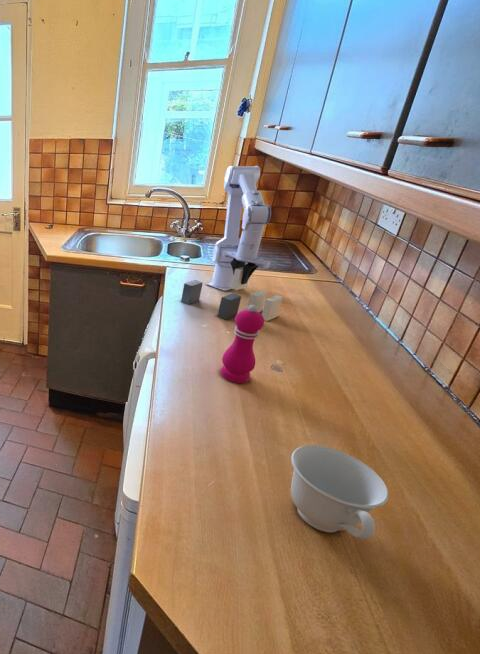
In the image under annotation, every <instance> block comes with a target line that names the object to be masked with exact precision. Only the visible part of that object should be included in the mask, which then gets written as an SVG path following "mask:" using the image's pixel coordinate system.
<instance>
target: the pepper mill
mask: <svg viewBox="0 0 480 654" xmlns="http://www.w3.org/2000/svg"><path fill="white" fill-rule="evenodd" d="M234 323H235V325H236V326H235V327H234V331H233V333H234V340H233V342H232V343H231V344H230V345H229V347H228V348H227V349H226V350H225V351H224V353H223V354H222V357H221V362H222V364H223V365H222V366H221V370H220V374H221V376H222V377H223V378H224V379H225V380H227V381H229V382H232V383H236V384H245V383H247V382H248V381H249V380H250V376H251V372H252V371H253V370H254V369H255V367H256V356H255V353H254V342H255V340H256V339H257V338H259V334H260V331H261V329H263V327H264V325H265V320H264V318H263V316H262V313H261V312H257V307H256V306H255V305H250V306H249V308H248V310H247V309H243V310H240V311H238V312H237V315H236V316H234Z"/></svg>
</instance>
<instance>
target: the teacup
mask: <svg viewBox="0 0 480 654" xmlns="http://www.w3.org/2000/svg"><path fill="white" fill-rule="evenodd" d="M290 460H291V461H290V462H291V465H292V467H293V474H292V478H291V485H290V496H291V499H292V502H293V504H294V506H295V507H296V508H297V513H298V515H299V516H300V518H301V519H302V520H303V521H304V522H306V523H307V524H308V525H309V526H311V527H313V528H314V529H316V530H318V531H321V532H325V533H335V532H337V531H347V532H348V533H349V534H350V535H351V536H352V537H354V538H356V539H359V540H369V539H371V538H372V537H373V536H374V534H375V531H376V524H375V520H374V519H373V517H372V515H371V514H370V512H371V511H372V510H373V509H375V508H379V507H382V506H383V505H385V504H386V503H387V502H388V500H389V496H390V495H389V494H390V493H389V489H388V487H387V485H386V483H385V482H384V481H383V479H382V478H381V477H380V476H379V475H378V474H377V472H375V471H374V469H372V468H371V467H370V466H368V465H367V464H365V462H363V461H361V460H360V459H358V458H356V457H354V456H352V455H351V454H349V453H346V452H344V451H342V450H339V449H336V448H332V447H329V446H322V445H313V444H312V445H311V444H310V445H303V446H299V447H297V448H295V449H294V450H293V452H292V453H291V457H290ZM360 523H361V528H360V530H359V529H358V528H357V526H358V525H359V524H360Z"/></svg>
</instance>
